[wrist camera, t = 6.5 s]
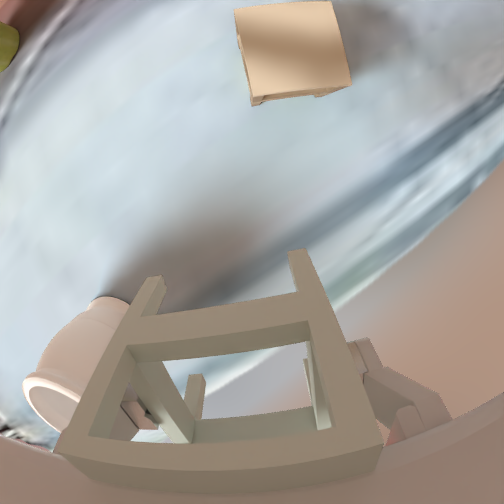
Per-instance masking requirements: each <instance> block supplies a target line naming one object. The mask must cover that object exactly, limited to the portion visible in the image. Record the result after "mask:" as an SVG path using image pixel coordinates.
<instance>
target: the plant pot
mask: <svg viewBox="0 0 504 504" xmlns="http://www.w3.org/2000/svg"><path fill="white" fill-rule="evenodd" d="M18 45H19V32H18V31H17V30H16V29H15V28H13V27H11V26H9V25H7V24H5V23H2V22H0V72H2V71H3V70H4V69H6V68H7V67H8V65H9V64H10V61H11V59H12V58H13V56H14V55H15V54H16V52H17V49H18Z"/></svg>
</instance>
